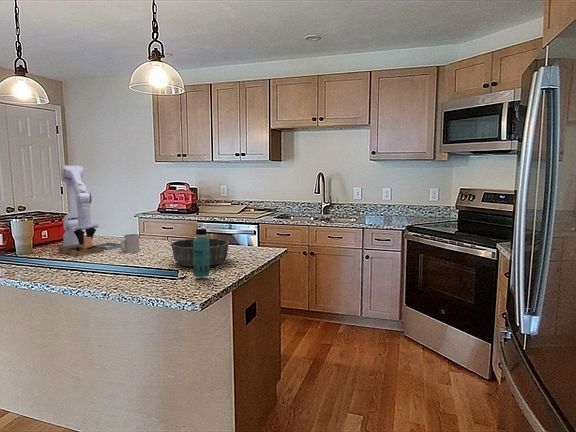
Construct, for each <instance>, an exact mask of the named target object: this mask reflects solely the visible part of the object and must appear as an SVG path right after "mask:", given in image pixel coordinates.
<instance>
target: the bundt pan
mask: <svg viewBox="0 0 576 432" xmlns="http://www.w3.org/2000/svg"><path fill="white" fill-rule="evenodd" d="M207 238H208V237H207ZM194 239H195V238H186V239H179V240H175V241H173V242H172V241H171V243H170V246H171V249H172V255H173V259H174V261H175V262H176V263H177V264H179V265H180V266H182V267H193V240H194ZM208 239H209V257H210V263H209V266H210V267H213V266H214V265H216V266H217V265H219V264H221V263H223V262H224V261H226V259H227V257H228V251H229V245H230V241H229V240H225V239H222V238H221V239H220V238H208Z"/></svg>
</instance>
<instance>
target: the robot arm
mask: <svg viewBox="0 0 576 432" xmlns="http://www.w3.org/2000/svg"><path fill="white" fill-rule="evenodd" d="M83 176H84V168H83V166H82V165H63V164H62V165H61V166H60V178H61V181H62V182H64V183H65V185H66V186H65V187H66V195H67V196H66V197H67V205H68V206H67V207H68V213H67V214H66V215H64V217H63V218H62V219H63V223H62V226H63V230H64V233H63V236H62V237H63V238H62V239H63V246H69V245H75V244H80V245H83V243H84V240H83V238H84V235H85V234H86V235H85V236H89V237H92V239H93V238H94V235H95V233H96V231H97V229H98V228H100V227H99V223H92V221H91V220H92V217H91V204H92V201H93V200H92V194H91V192H90V191H88V189H87V186H86V184H85V183H84V182H83V181H82V179H83ZM63 246H61V247H63Z"/></svg>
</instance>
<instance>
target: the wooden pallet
mask: <svg viewBox="0 0 576 432" xmlns="http://www.w3.org/2000/svg"><path fill="white" fill-rule="evenodd" d="M95 245H96V244H92V247H87V250H83V251H75V250H69V249H74V248H79V244H75V245H69V246H64V245H63V247H62V246H59V247H58V254H62V255H68V256H73V257H78V258H79V257H84V256H88V255H93V254H99V253H103V252H105V250H104V247H105V246H103V247H102V246H95Z"/></svg>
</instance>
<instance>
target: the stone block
mask: <svg viewBox="0 0 576 432" xmlns="http://www.w3.org/2000/svg"><path fill="white" fill-rule="evenodd" d="M83 240H84V243H83V245H80V244H79V247H82V248H87V247H92V245H93V242H92V241H93V238H92V237H89V236H87V235H85V236H84V238H83Z"/></svg>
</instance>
